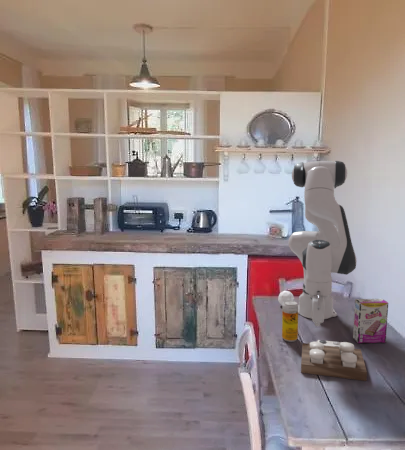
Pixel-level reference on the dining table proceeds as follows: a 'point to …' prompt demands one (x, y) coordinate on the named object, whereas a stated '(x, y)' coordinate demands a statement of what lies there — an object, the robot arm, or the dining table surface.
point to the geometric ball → (285, 297)
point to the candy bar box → (370, 320)
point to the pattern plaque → (329, 343)
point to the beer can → (290, 321)
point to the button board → (333, 364)
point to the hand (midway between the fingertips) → (317, 324)
